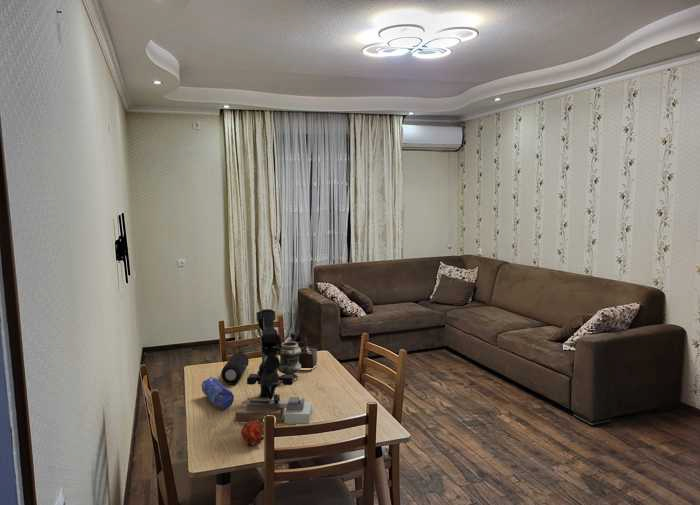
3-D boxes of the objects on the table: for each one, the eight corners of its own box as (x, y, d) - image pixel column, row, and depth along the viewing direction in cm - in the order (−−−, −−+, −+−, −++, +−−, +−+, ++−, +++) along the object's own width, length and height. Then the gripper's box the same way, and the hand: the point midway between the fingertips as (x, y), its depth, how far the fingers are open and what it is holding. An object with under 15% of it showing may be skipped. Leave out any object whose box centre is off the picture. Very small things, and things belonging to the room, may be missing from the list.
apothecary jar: (297, 382, 253) (297, 347, 252) (274, 381, 255) (274, 346, 253) (303, 374, 265) (303, 340, 263) (281, 373, 267) (281, 339, 265)
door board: (242, 410, 219) (242, 396, 218) (284, 411, 218) (284, 396, 218) (235, 422, 207) (235, 407, 206) (279, 423, 206) (279, 408, 206)
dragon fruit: (258, 438, 197) (253, 457, 185) (239, 426, 195) (233, 445, 184) (270, 422, 195) (266, 440, 183) (252, 410, 194) (246, 428, 182)
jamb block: (289, 411, 218) (288, 394, 217) (312, 411, 218) (312, 394, 217) (284, 423, 206) (284, 405, 206) (309, 423, 206) (309, 405, 205)
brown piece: (318, 364, 282) (317, 332, 280) (312, 371, 271) (312, 337, 269) (291, 362, 285) (290, 331, 283) (284, 369, 274) (284, 336, 272)
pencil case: (200, 396, 235) (200, 376, 234) (219, 393, 239) (218, 373, 239) (215, 413, 216) (214, 391, 215) (235, 409, 221) (234, 387, 220)
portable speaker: (240, 385, 249) (240, 365, 248) (220, 385, 249) (219, 365, 248) (249, 368, 275) (249, 350, 274) (231, 369, 275) (230, 350, 274)
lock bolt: (269, 407, 211) (268, 396, 210) (270, 405, 213) (270, 394, 213) (298, 408, 210) (297, 396, 210) (298, 406, 213) (298, 394, 212)
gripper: (243, 368, 203) (243, 406, 204) (290, 369, 202) (290, 407, 203) (249, 360, 214) (250, 396, 215) (294, 360, 213) (294, 396, 214)
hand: (270, 399), depth 212 cm, fingers closed
